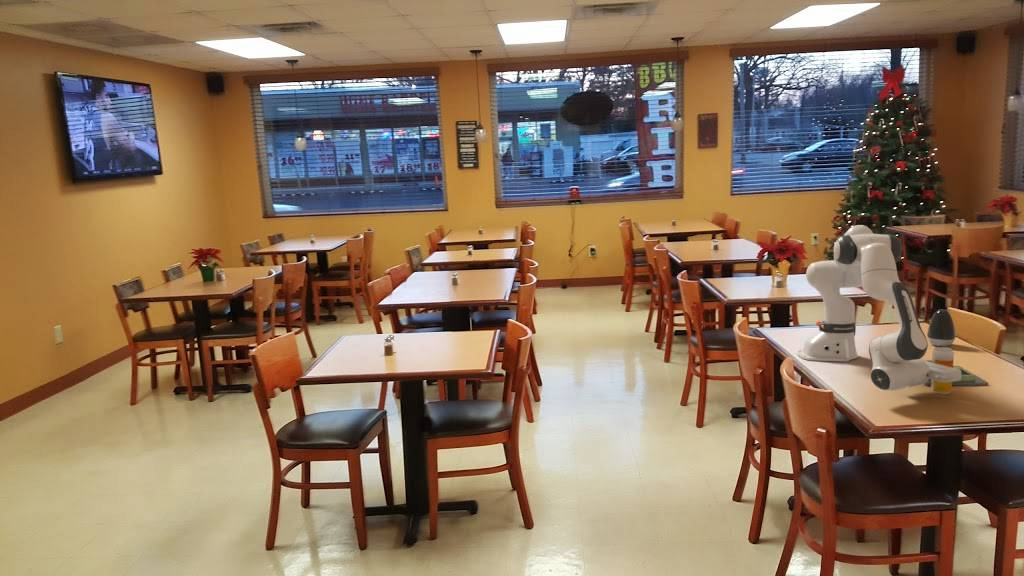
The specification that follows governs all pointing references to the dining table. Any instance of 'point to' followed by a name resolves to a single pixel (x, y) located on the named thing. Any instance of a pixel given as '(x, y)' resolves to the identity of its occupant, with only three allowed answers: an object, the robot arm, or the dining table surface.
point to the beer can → (944, 365)
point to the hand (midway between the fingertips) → (944, 365)
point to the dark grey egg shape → (941, 329)
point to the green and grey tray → (965, 379)
